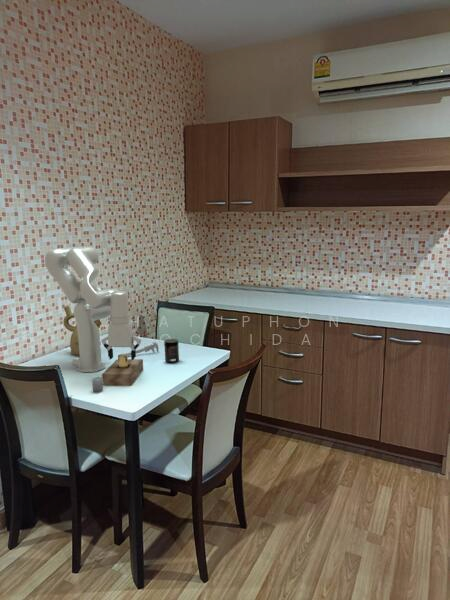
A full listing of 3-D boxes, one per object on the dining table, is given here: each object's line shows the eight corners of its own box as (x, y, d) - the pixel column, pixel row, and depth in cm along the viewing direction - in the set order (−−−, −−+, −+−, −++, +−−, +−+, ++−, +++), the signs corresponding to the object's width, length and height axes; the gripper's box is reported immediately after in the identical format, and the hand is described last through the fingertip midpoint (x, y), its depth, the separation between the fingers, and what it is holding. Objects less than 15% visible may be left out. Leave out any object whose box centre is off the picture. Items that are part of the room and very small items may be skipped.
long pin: (118, 378, 201) (116, 356, 199) (121, 375, 205) (119, 353, 203) (127, 378, 200) (125, 356, 199) (129, 375, 204) (128, 353, 202)
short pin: (91, 392, 185) (90, 380, 184) (94, 389, 189) (93, 377, 188) (101, 392, 185) (100, 380, 184) (104, 389, 189) (103, 377, 188)
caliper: (158, 352, 239) (157, 340, 238) (158, 353, 238) (158, 341, 237) (118, 358, 231) (117, 346, 230) (118, 358, 230) (117, 346, 229)
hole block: (103, 385, 193) (102, 373, 192) (117, 369, 213) (116, 359, 212) (131, 385, 192) (130, 374, 191) (143, 369, 212) (142, 359, 211)
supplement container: (176, 358, 227) (176, 338, 225) (181, 362, 221) (180, 341, 219) (163, 360, 224) (162, 340, 223) (167, 364, 218) (166, 343, 216)
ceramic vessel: (99, 356, 234) (95, 308, 229) (60, 357, 234) (56, 308, 230) (108, 347, 250) (104, 301, 246) (72, 348, 251) (68, 302, 246)
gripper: (97, 322, 195) (99, 361, 198) (137, 322, 194) (139, 361, 197) (103, 317, 202) (105, 355, 205) (142, 318, 201) (144, 356, 204)
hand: (122, 358), depth 201 cm, fingers open, 9 cm apart
